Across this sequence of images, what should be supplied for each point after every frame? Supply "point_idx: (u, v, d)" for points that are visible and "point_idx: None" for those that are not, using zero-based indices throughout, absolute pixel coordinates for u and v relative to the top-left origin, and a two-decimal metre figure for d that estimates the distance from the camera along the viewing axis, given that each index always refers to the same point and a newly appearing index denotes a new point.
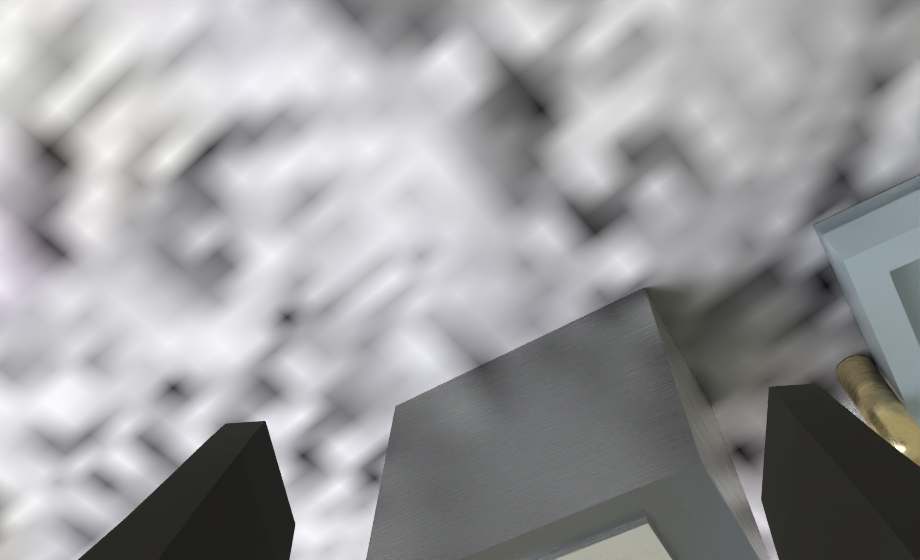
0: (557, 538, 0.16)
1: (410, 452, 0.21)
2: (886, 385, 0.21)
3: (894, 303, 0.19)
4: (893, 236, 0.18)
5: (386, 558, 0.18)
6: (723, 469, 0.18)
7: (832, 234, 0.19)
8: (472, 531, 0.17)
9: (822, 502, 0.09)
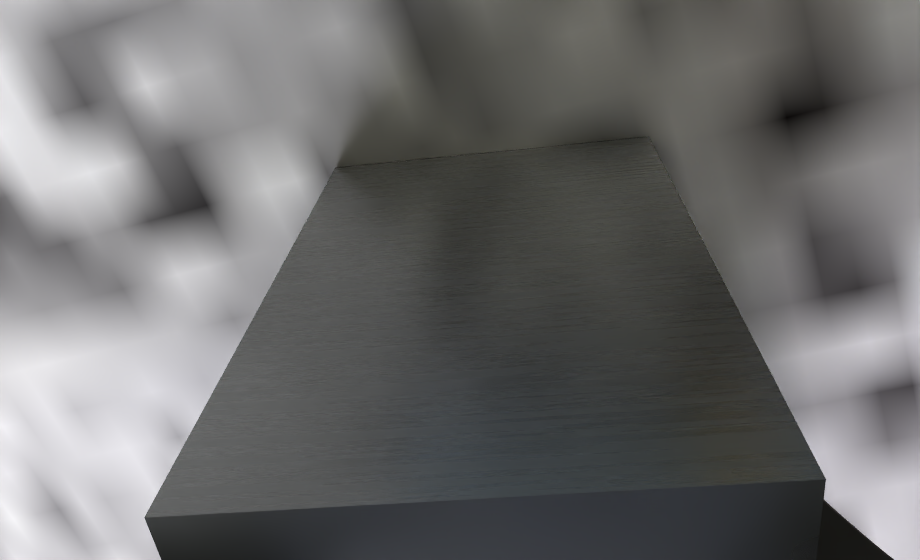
0: None
1: None
2: None
3: None
4: None
5: None
6: (502, 322, 0.07)
7: None
8: None
9: None
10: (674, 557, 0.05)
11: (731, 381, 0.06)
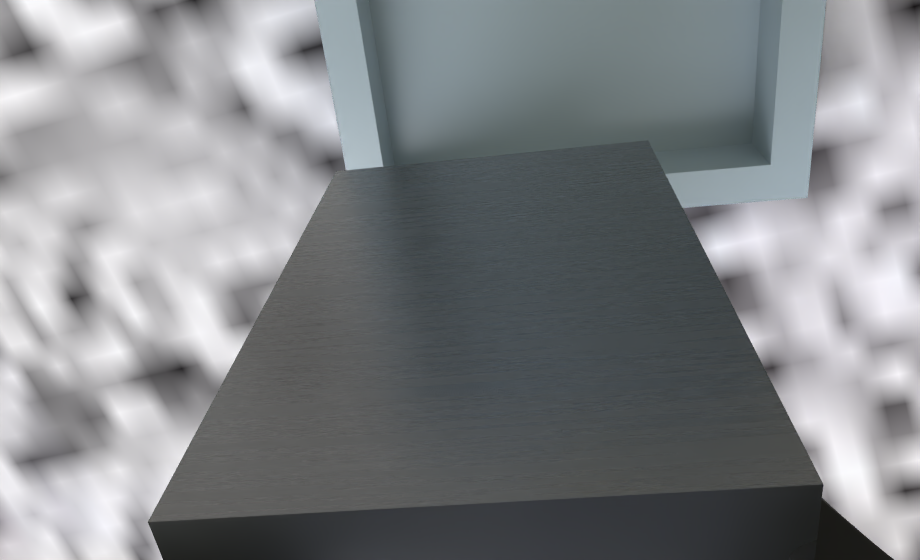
0: None
1: None
2: None
3: None
4: None
5: None
6: (502, 327, 0.07)
7: None
8: None
9: None
10: None
11: (730, 386, 0.06)
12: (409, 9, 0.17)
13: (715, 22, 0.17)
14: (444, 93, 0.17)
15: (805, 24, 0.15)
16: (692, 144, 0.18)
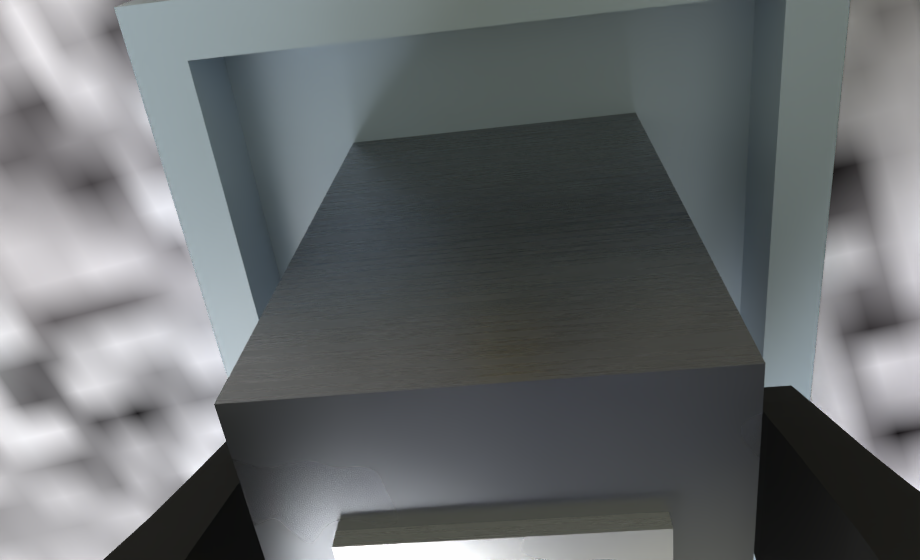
0: None
1: None
2: None
3: None
4: None
5: None
6: (505, 260, 0.08)
7: None
8: None
9: (794, 503, 0.09)
10: (645, 435, 0.07)
11: (695, 298, 0.07)
12: None
13: None
14: None
15: None
16: None
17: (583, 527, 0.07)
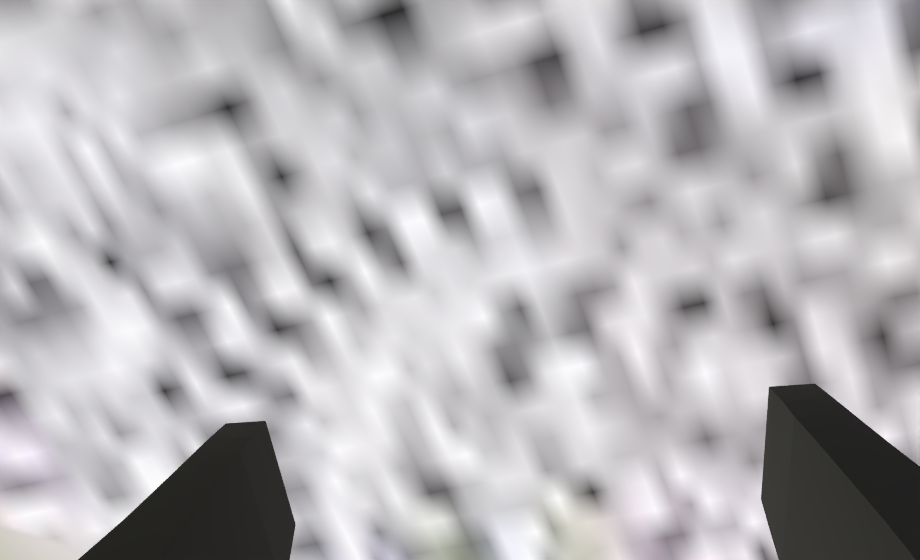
0: None
1: None
2: None
3: None
4: None
5: None
6: None
7: None
8: None
9: (822, 501, 0.09)
10: None
11: None
12: None
13: None
14: None
15: None
16: None
17: None
